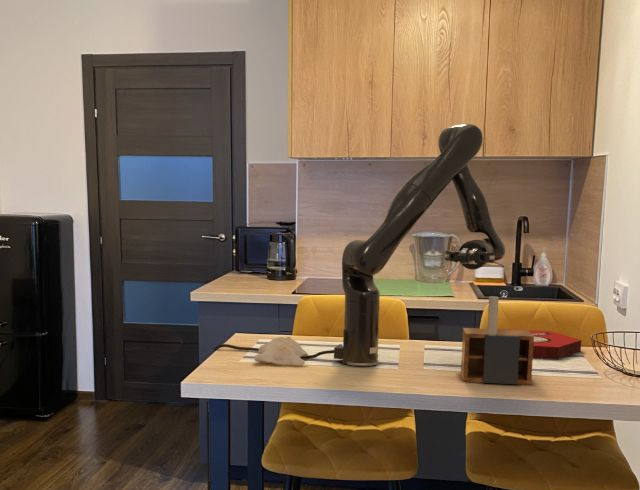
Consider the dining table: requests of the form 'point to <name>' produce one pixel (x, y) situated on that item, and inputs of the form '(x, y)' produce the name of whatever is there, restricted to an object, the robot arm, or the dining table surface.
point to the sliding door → (499, 351)
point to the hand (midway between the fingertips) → (462, 258)
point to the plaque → (553, 345)
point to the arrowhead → (281, 352)
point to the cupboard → (475, 354)
